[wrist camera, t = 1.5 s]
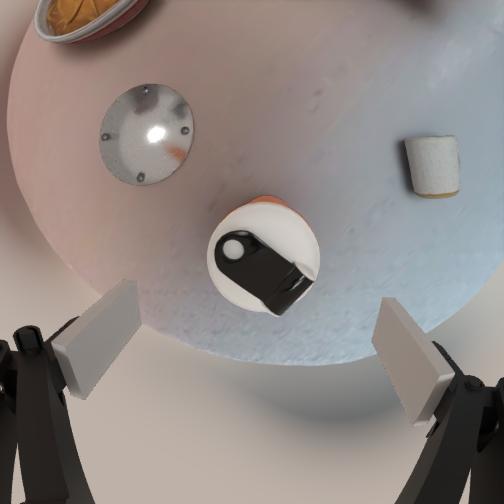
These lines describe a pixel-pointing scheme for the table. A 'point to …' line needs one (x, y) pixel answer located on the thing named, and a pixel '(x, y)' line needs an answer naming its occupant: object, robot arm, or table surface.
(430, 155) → the ceramic mug
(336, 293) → the table surface
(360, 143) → the table surface
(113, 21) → the bowl
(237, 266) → the shaker bottle
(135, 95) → the flange
